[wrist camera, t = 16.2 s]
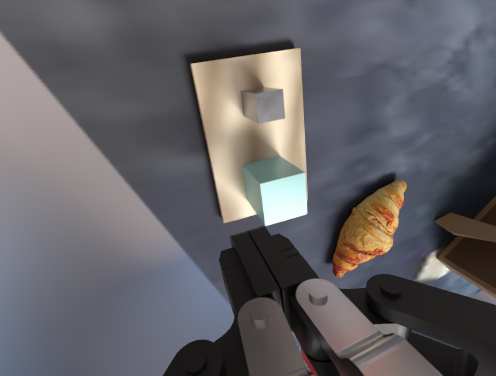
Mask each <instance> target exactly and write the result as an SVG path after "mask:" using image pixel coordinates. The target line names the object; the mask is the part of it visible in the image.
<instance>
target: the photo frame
mask: <svg viewBox="0 0 496 376" xmlns="http://www.w3.org/2000/svg"><path fill="white" fill-rule="evenodd" d="M435 223H437V224H438V225H440V226H441V227H443V228H444V229H446V230H448V231H449V232H451V233H452V234H454V235H458V236H457V237H456V238H455V239H454V240H453V241H452V242H451V243H450V244H449V245H448V246H447V247H446V249H445V250H444V251H443V252H442V253H441V254H440V255H439V256H438V257H437V259H438V260H439V261H440V262H441V263H442V264H444V265H445V266H446V267H447V268H448V269H450V270H452V271H453V272H455V273H456V274H458V275H460V276H461V277H463V278H464V279H466V280H467V281H469V282H471V283H472V284H474V285H475V286H477V287H479V288H480V289H482V290H483V291H485V292H487V293H488V294H490V295H491V296H493V297H494V298H496V196H495V197H494V198H493V199H492V200H491V201H490V202H489V203H488V204H487V206H486V207H485V208H484V209H483V210H482V211H481V212H480V213H479V214H478V215H477V216H476V217H475V218H474V219H470V218H467V217H464V216H461V215H457V214H454V213H449V214H447V215H445V216H443V217H441V218H439V219H437V220H435Z"/></svg>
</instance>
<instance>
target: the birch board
mask: <svg viewBox="0 0 496 376" xmlns="http://www.w3.org/2000/svg"><path fill="white" fill-rule="evenodd" d="M190 67H191V72H192V76H193V81H194V86H195V91H196V96H197V101H198V105H199V110H200V115H201V120H202V125H203V129H204V134H205V139H206V144H207V149H208V153H209V158H210V163H211V168H212V173H213V178H214V182H215V187H216V192H217V197H218V202H219V206H220V211H221V216H222V220H223V222H224V223H227V222H230V221H234V220H237V219H241V218H245V217H248V216H252V215H255V214H257V213H256V212H255V211H254V209H253V208H252V206H251V205H250V204H249V202H248V200H247V193H246V186H245V180H244V173H243V167H242V165H244V164H248V163H252V162H257V161H261V160H265V159H269V158H274V157H278V156H281V157H282V158H284V159H285V160H287V161H289V162H290V163H292V164H293V165H295V166H296V167H298V168H299V169H301V170H302V171H304V172H305V177H306V198H307V200H308V196H307V175H306V154H305V134H304V113H303V92H302V72H301V51H300V48H296V49H289V50H282V51H275V52H268V53H261V54H254V55H248V56H241V57H234V58H227V59H220V60H213V61H206V62H199V63H192V64H190ZM262 87H268V88H278V89H283V96H284V109H285V119H280V120H275V121H270V122H265V123H260V124H258V123H256V122H254V121H252V120H250V119H248V118H246V117H244V113H243V106H242V99H241V91H244V90H250V89H256V88H262Z"/></svg>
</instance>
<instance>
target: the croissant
mask: <svg viewBox="0 0 496 376" xmlns="http://www.w3.org/2000/svg"><path fill="white" fill-rule="evenodd" d="M406 187H407V185H406V183H405V182H404V181H401V180H398V181H394V182H393V183H390V184H389V185H387V186H385V187H382V188H380V189H378V190H377V191H375V193H373V194H372V195H370V196H369V197H367V198H366V199H365V200H364V201H362V202H361V203H360V204H359V205H357V206H356V207H354V208H353V209H352V213H351V215H350V216H349V218H348V219H347V220H346V222H345V223H344V225H343V227H342V229H341V232H340V236H339V240H338V243H337V247H336V250H335V253H334V256H333V273H334V275H335V276H336V277H343V275H344V273H345V272H346V271H351V270H353V269H354V268H356V267H357V265H358V264H359V263H362V262H366V261H368V260H370V259H374V257H375V256H376V255H382V254H385V253H386V252H387V251H388V250H389V249H391V248H392V245H393V237H392V234H393V233H394V232H395V230H396V229H397V226H398V214H399V211H400V209H401V207H402V205H403V201H404V195H403V193H404V192H405V190H406Z"/></svg>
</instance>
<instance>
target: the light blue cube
mask: <svg viewBox="0 0 496 376" xmlns="http://www.w3.org/2000/svg"><path fill="white" fill-rule="evenodd" d="M242 167H243V173H244V180H245V186H246V193H247V200H248V202H249V204H250V205H251V206H252V208H253V209H254V211H255V212H256V213H257V215H258V216H259V218H260V219H261V221H262V222H263V223H264V225H265V226H267V225H271V224H274V223H278V222H281V221H285V220H288V219H292V218H295V217H298V216H302V215H305V214H307V198H306V177H305V172H304V171H302V170H301V169H299V168H298V167H296V166H295V165H293V164H292V163H290V162H289V161H287V160H285V159H284V158H282V157H281V156H278V157H274V158H269V159H265V160H261V161H257V162H252V163H248V164H244V165H242Z"/></svg>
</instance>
